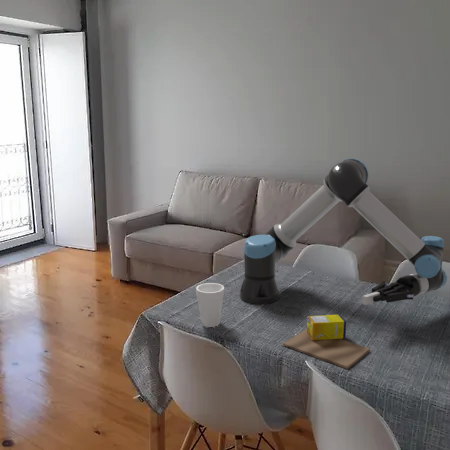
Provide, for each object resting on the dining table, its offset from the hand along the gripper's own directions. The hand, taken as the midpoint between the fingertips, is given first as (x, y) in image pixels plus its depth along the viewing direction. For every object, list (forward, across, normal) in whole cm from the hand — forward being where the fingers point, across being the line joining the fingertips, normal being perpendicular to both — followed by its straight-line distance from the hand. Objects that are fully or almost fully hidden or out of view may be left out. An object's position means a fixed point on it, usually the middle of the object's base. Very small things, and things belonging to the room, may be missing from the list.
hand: (364, 300), depth 163 cm
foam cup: (+37, +34, -11) cm, 52 cm away
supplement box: (+7, +2, -8) cm, 11 cm away
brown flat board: (+17, -1, -11) cm, 21 cm away
